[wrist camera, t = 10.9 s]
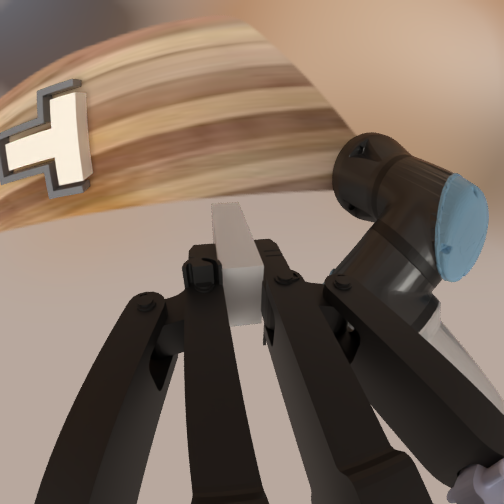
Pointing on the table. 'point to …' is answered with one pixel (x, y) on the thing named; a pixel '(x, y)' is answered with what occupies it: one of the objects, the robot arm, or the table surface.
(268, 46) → the table surface
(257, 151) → the table surface
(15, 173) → the t bay
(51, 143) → the t block
